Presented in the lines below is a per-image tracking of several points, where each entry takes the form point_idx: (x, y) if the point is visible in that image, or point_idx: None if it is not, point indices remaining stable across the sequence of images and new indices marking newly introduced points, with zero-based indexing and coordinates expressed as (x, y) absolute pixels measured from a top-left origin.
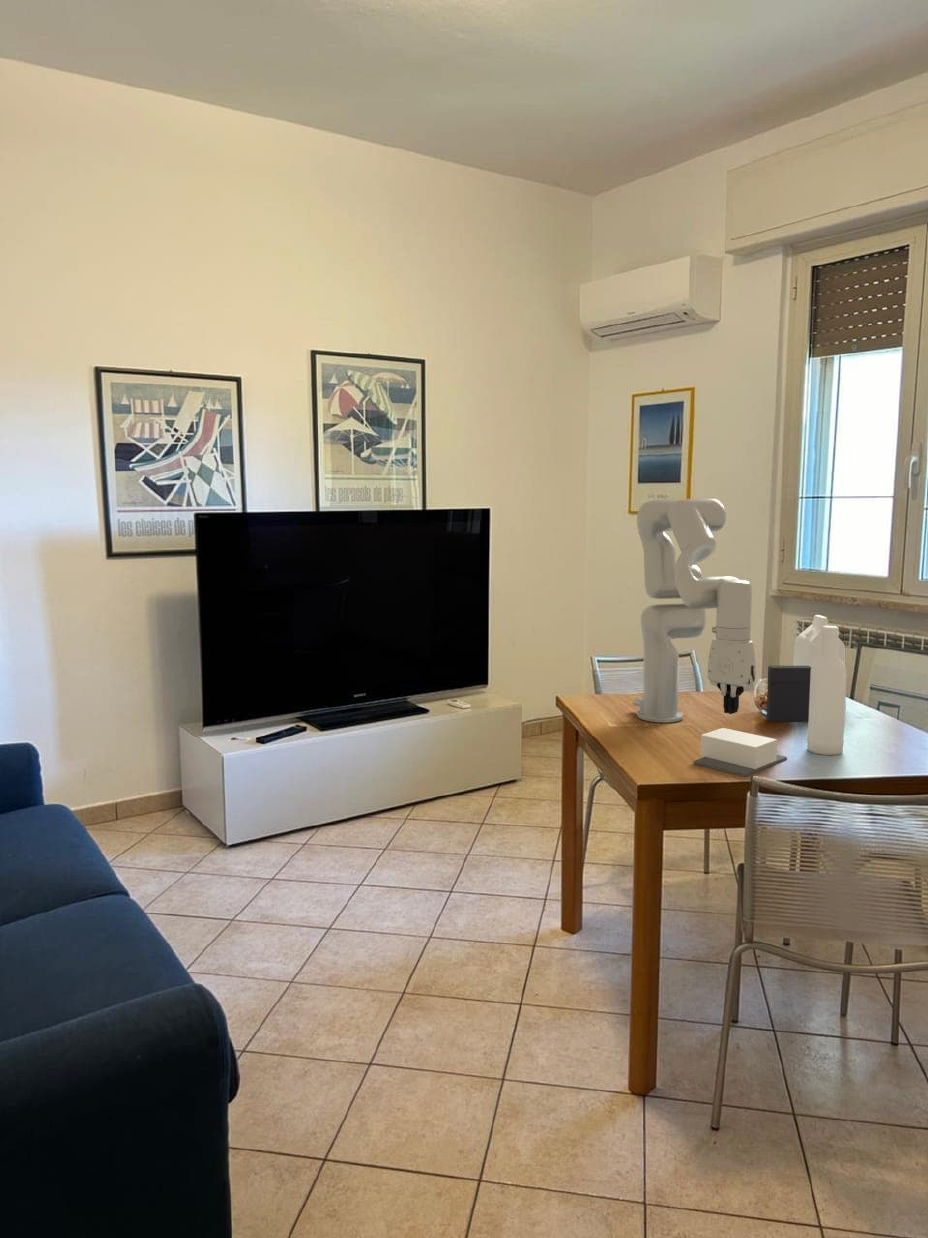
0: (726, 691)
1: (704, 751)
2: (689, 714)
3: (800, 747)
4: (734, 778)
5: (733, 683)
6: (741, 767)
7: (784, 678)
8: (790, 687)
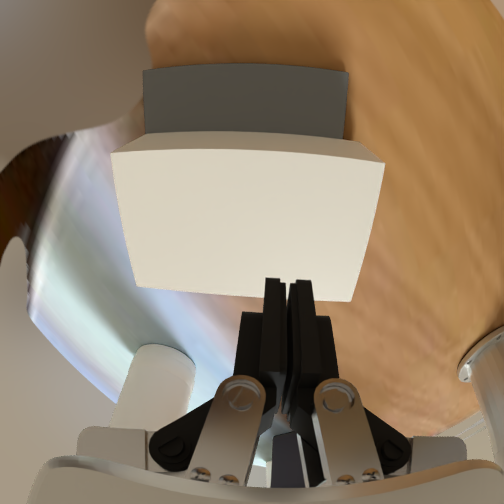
0: (313, 418)
1: (349, 143)
2: (447, 387)
3: (207, 361)
4: (160, 35)
5: (163, 496)
6: (186, 118)
7: None
8: (298, 479)
